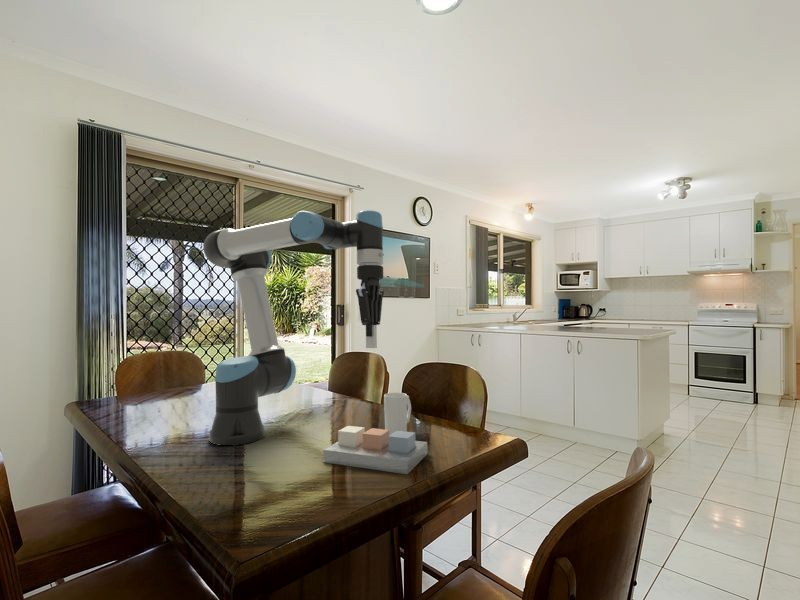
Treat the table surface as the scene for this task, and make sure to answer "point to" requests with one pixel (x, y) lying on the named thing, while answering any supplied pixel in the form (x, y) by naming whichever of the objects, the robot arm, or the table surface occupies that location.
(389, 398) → the mug
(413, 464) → the grey slotted board
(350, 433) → the cream cube
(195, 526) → the table surface
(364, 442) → the terracotta key
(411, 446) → the slate key
